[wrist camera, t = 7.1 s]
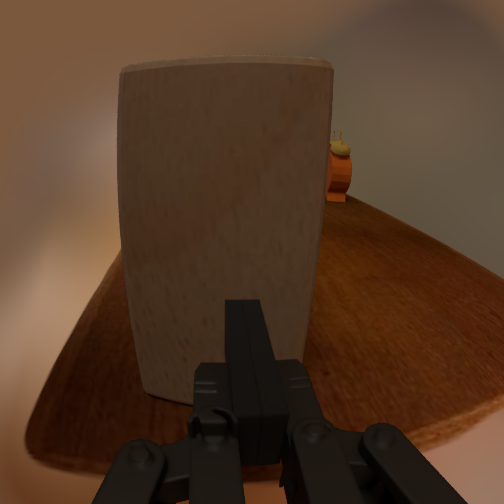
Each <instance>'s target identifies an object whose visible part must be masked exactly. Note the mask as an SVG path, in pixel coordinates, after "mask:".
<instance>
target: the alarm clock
mask: <svg viewBox="0 0 504 504" xmlns="http://www.w3.org/2000/svg"><path fill="white" fill-rule="evenodd" d="M334 135H335V131H334ZM333 138H334V137H333ZM349 154H350V147H349V145H348V144H346V143H344V142H341V131H340V141H334V139H333V141H330V147H329V160H328V172H327V183H326V194H325V196H326V200H327V201H335V202H345V193H346V192H347V190H348V188H349V185H350V182H351V174H352V164H351V159H350V155H349Z"/></svg>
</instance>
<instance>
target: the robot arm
mask: <svg viewBox="0 0 504 504" xmlns="http://www.w3.org/2000/svg"><path fill="white" fill-rule="evenodd" d="M224 350H225V362H218V363H205V362H201V363H200V364H199V366H198V367H197V369H196V370H195V372H194V393H193V412H192V413H191V414H190V416H189V419H188V422H187V423H188V430H189V434H188V435H187V436H186V437H185V438H183V439H181V440H180V441H177V442H174V443H171V444H166V445H162V446H159V445H158V444H157V443H154V442H152V441H150V440H144V439H137V440H132V441H130V442H128V443H126V444H124V445H123V446H122V448H121V449H120V450H119V451H118V453H117V455H116V457H115V459H114V461H113V463H112V465H111V467H110V469H109V471H108V472H107V474H106V476H105V478H104V480H103V482H102V484H101V486H100V488H99V490H98V492H97V494H96V496H95V498H94V499H93V501H92V503H91V504H176V503H177V502H181V501H186V500H189V504H245V496H244V488H243V480H242V472H241V466H254V465H268V464H279V463H280V458H281V459H282V464H283V470H282V474H281V478H280V483H279V487H283V485H284V490H285V494H286V499H287V504H468V503H467V502H466V501H465V500H464V499H463V498H462V497H461V496H460V495H459V494H458V493H457V492H456V490H455V489H454V488H453V487H452V486H451V485H450V484H449V483H448V482H447V481H446V480H445V479H444V477H442V475H441V474H439V472H438V471H437V470H436V469H435V468H434V467H433V466H432V465H431V464H430V462H429V461H428V460H427V459H426V458H425V457H424V456H423V455H422V454H421V453H420V452H419V450H418V449H417V448H416V447H415V446H414V445H413V444H412V443H411V442H410V441H409V440H408V439H407V437H406V436H405V435H404V434H403V433H402V432H401V431H400V430H399V429H398V428H396V427H395V426H393V425H390V424H388V423H377V424H373V425H371V426H369V427H368V428H367V429H366V430H365V432H352V431H344V430H340V429H338V428H335V427H334V426H333V424H332V423H330V422H329V421H327V420H326V419H325V417H324V416H323V413H322V410H321V408H320V405H319V402H318V400H317V397H316V394H315V391H314V389H313V387H312V383H311V381H310V379H309V375H308V373H307V370H306V367H305V366H304V365H303V364H302V363H301V362H299V361H298V360H297V359H287V360H275V356H274V352H273V349H272V345H271V341H270V337H269V334H268V330H267V326H266V322H265V319H264V315H263V311H262V307H261V303H260V300H259V299H248V300H225V347H224Z"/></svg>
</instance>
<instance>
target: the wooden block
mask: <svg viewBox="0 0 504 504" xmlns="http://www.w3.org/2000/svg"><path fill="white" fill-rule="evenodd" d="M333 73H334V70H333V68H332V65H331V63H330V62H328V61H326V60H324V59H322V58H311V57H297V56H276V55H228V56H227V55H224V56H203V57H189V58H178V59H168V60H160V61H152V62H144V63H137V64H131V65H128V66H126V67H124V68H122V70H121V72H120V79H119V95H118V118H117V180H118V205H119V222H120V236H121V248H122V258H123V268H124V277H125V285H126V293H127V300H128V307H129V314H130V321H131V327H132V333H133V339H134V344H135V350H136V355H137V360H138V365H139V370H140V375H141V380H142V384H143V389H144V391H145V392H146V393H147V394H149V395H151V396H155V397H159V398H163V399H167V400H171V401H175V402H179V403H183V404H188V405H192V406H193V393H194V372H195V370H196V369H197V367H198V366H199V364H200V363H201V362H205V363H218V362H225V350H224V347H225V300H248V299H259V300H260V303H261V307H262V311H263V315H264V319H265V322H266V326H267V330H268V334H269V337H270V341H271V345H272V349H273V352H274V356H275V360H287V359H297V360H298V361H299V362H301V363H302V361H303V355H304V349H305V344H306V338H307V332H308V325H309V319H310V313H311V306H312V300H313V293H314V286H315V279H316V271H317V264H318V256H319V248H320V240H321V231H322V223H323V213H324V204H325V194H326V183H327V172H328V160H329V147H330V133H331V116H332V99H333V75H334V74H333Z"/></svg>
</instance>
